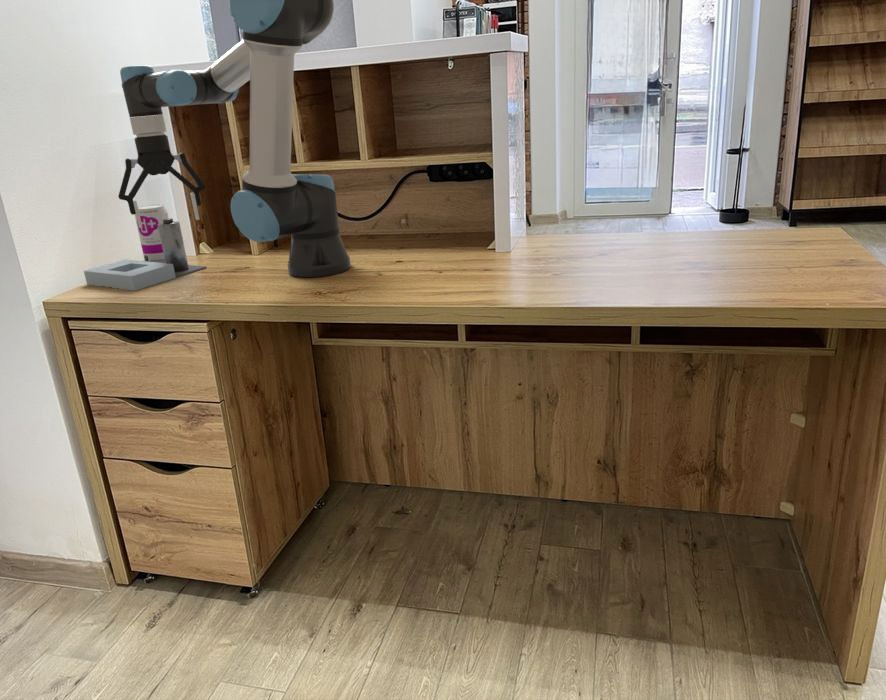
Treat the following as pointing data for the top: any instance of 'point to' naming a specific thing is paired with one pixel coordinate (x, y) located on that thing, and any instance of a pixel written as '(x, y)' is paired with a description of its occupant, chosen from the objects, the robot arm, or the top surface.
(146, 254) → the supplement can
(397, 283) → the top surface
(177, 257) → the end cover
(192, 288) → the top surface
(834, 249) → the top surface
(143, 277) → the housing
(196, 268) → the pad
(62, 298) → the top surface
